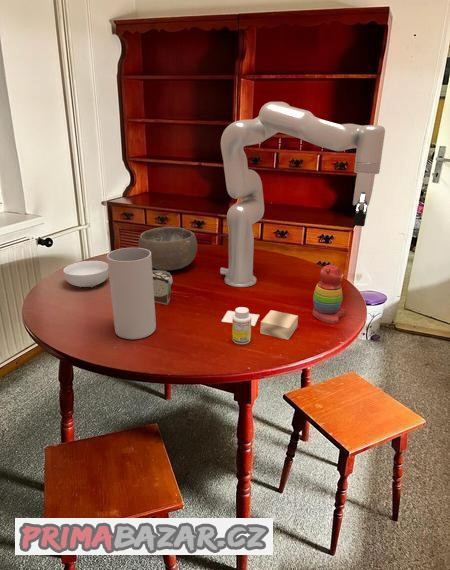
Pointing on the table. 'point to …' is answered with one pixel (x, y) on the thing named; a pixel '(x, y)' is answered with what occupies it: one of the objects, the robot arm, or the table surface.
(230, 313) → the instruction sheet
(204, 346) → the table surface
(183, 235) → the bowl
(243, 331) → the supplement bottle
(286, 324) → the pedestal
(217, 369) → the table surface
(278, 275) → the table surface
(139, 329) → the cylinder vase
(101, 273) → the cereal bowl
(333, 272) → the stacking bear
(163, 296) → the food container
